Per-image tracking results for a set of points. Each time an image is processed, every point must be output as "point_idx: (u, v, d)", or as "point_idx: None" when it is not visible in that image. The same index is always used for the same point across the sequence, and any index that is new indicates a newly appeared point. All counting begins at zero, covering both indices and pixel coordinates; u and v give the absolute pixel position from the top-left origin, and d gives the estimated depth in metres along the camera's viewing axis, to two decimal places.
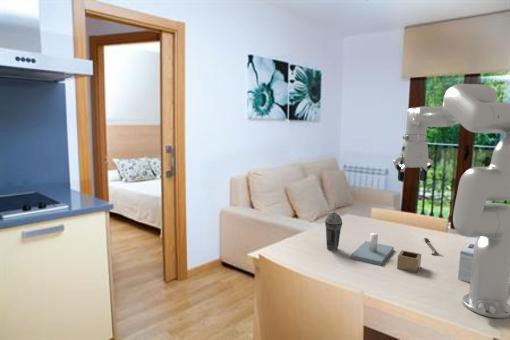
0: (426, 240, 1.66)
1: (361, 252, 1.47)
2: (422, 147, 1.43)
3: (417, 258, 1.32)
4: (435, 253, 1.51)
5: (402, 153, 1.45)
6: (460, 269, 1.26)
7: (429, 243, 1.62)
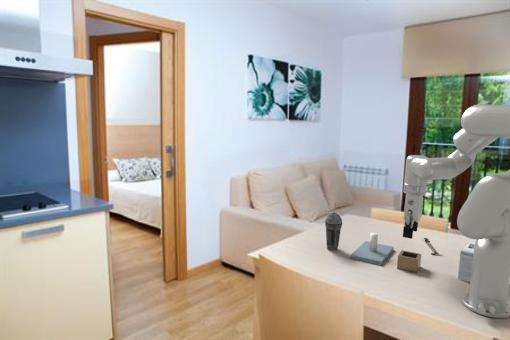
0: (426, 240, 1.66)
1: (361, 252, 1.47)
2: (422, 198, 1.33)
3: (417, 258, 1.32)
4: (435, 253, 1.51)
5: (409, 208, 1.29)
6: (460, 269, 1.26)
7: (429, 243, 1.62)
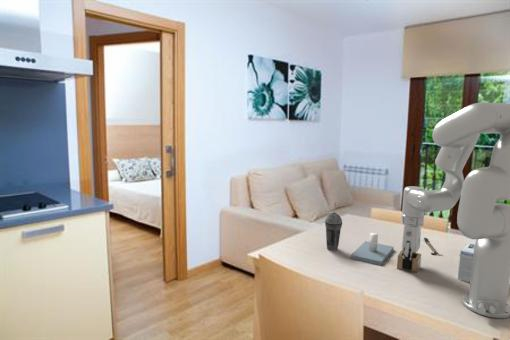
0: (426, 240, 1.67)
1: (361, 252, 1.47)
2: (420, 228, 1.34)
3: (417, 258, 1.32)
4: (435, 253, 1.51)
5: (407, 239, 1.30)
6: (460, 269, 1.26)
7: (429, 243, 1.63)
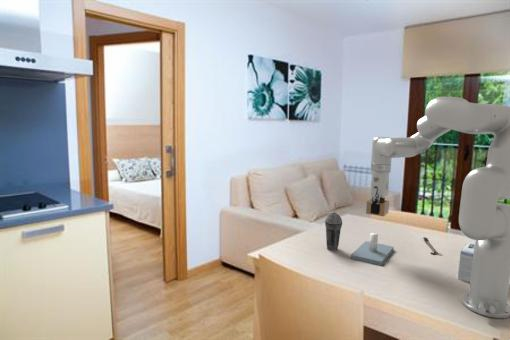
0: (425, 239, 1.67)
1: (361, 252, 1.47)
2: (388, 176, 1.44)
3: (384, 203, 1.42)
4: (434, 252, 1.52)
5: (375, 184, 1.40)
6: (460, 269, 1.26)
7: (428, 242, 1.63)
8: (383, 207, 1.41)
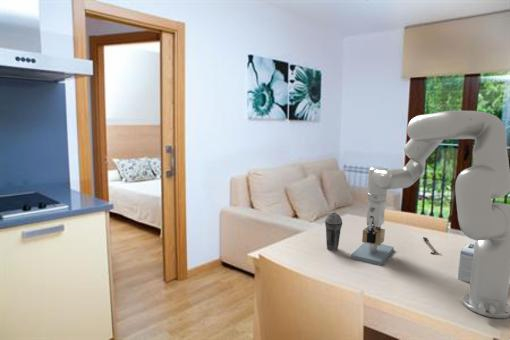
0: (425, 239, 1.67)
1: (361, 252, 1.47)
2: (383, 205, 1.46)
3: (380, 232, 1.44)
4: (434, 252, 1.52)
5: (370, 214, 1.43)
6: (460, 269, 1.26)
7: (428, 242, 1.63)
8: (379, 236, 1.44)
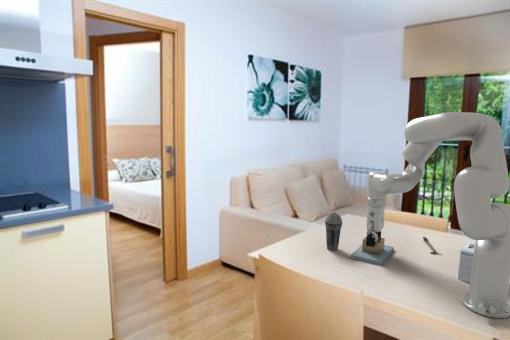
0: (425, 239, 1.67)
1: (361, 252, 1.47)
2: (383, 210, 1.46)
3: (380, 241, 1.45)
4: (434, 252, 1.52)
5: (370, 219, 1.43)
6: (460, 269, 1.26)
7: (428, 242, 1.64)
8: (379, 246, 1.44)
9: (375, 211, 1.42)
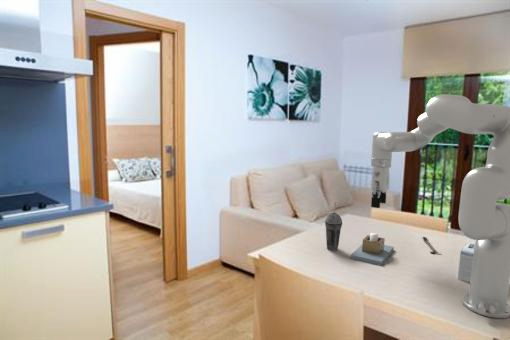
0: (424, 239, 1.68)
1: (361, 252, 1.47)
2: (388, 171, 1.44)
3: (380, 241, 1.45)
4: (434, 251, 1.52)
5: (375, 179, 1.41)
6: (460, 269, 1.26)
7: (427, 242, 1.64)
8: (379, 246, 1.44)
9: (380, 171, 1.40)
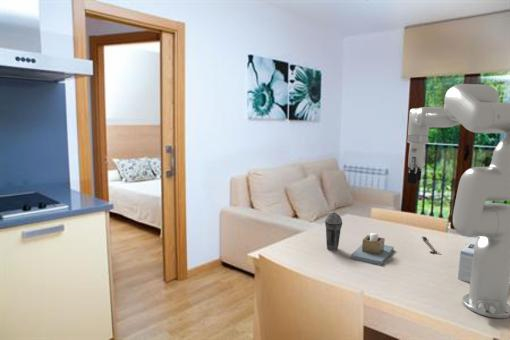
0: (424, 239, 1.68)
1: (361, 252, 1.47)
2: None
3: (380, 241, 1.45)
4: (433, 251, 1.53)
5: (413, 155, 1.41)
6: (460, 269, 1.26)
7: (427, 241, 1.64)
8: (379, 246, 1.44)
9: (418, 147, 1.40)
